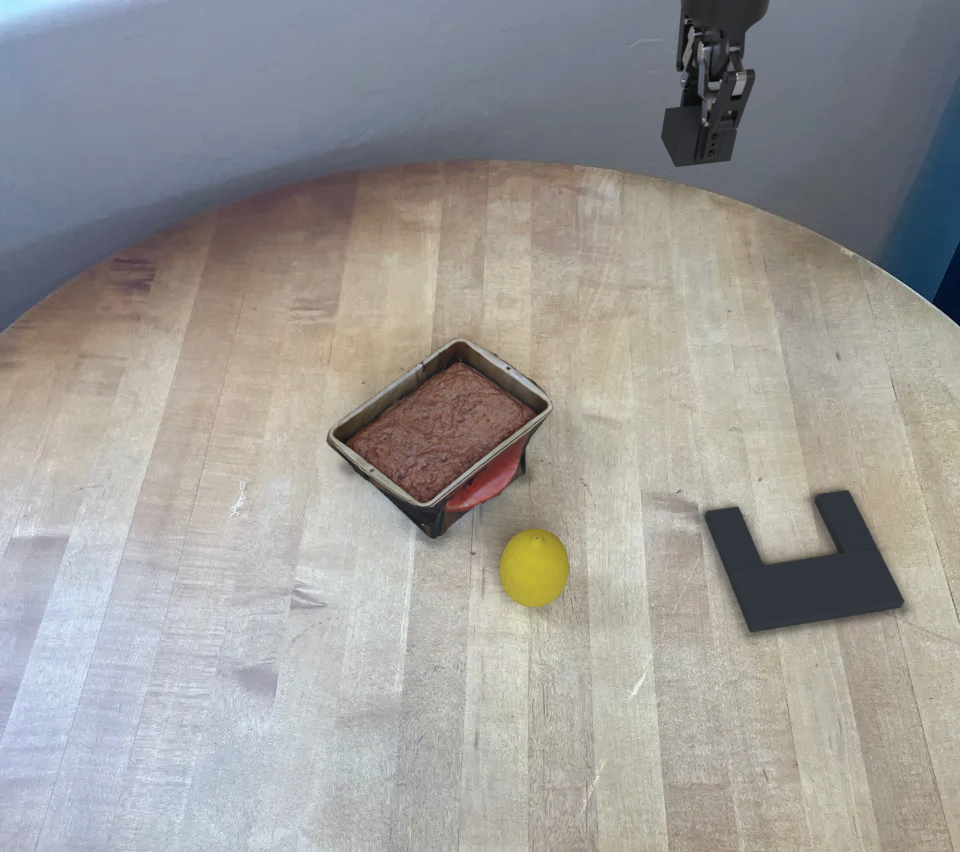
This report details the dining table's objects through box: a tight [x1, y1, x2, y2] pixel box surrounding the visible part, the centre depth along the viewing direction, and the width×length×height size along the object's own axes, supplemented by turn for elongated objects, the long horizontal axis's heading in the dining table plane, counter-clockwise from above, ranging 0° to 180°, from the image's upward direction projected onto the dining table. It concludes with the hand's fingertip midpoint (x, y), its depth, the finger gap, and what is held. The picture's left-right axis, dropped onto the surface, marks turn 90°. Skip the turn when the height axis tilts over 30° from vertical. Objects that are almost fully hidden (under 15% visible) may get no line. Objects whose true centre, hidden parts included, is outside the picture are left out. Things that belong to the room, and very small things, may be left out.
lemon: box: [499, 528, 570, 608], centre depth 79 cm, size 6×6×8 cm
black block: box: [660, 102, 738, 168], centre depth 96 cm, size 6×5×3 cm
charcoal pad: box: [704, 489, 905, 634], centre depth 84 cm, size 13×12×2 cm
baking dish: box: [325, 337, 554, 540], centre depth 86 cm, size 14×18×10 cm
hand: (696, 142), depth 97 cm, fingers closed on black block, 5 cm apart
